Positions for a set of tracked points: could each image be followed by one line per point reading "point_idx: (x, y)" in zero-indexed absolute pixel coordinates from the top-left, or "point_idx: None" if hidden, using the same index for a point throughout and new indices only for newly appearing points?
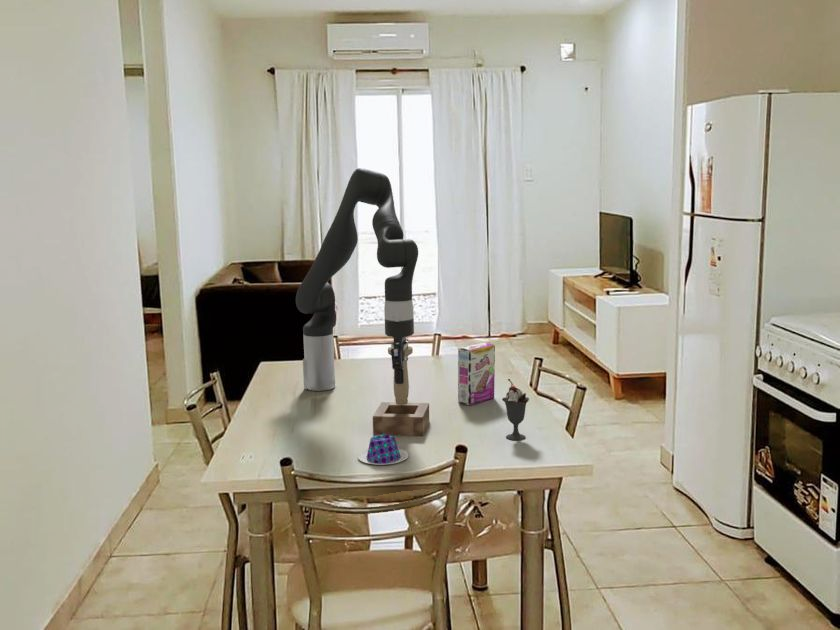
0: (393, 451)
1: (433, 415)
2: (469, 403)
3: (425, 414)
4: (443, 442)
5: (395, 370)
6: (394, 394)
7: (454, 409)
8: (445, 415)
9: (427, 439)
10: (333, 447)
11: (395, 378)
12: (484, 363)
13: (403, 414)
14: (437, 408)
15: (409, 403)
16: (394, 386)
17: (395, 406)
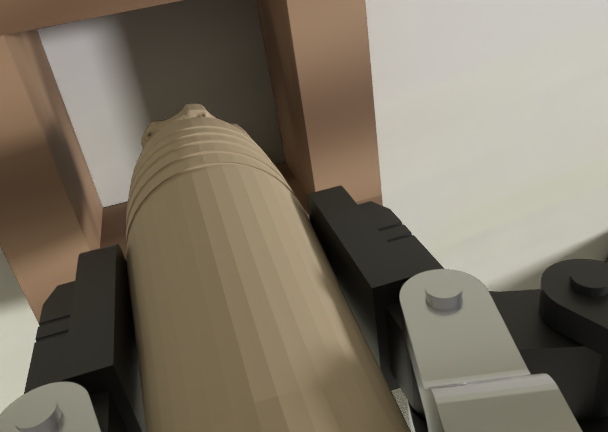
0: None
1: (442, 179)
2: None
3: None
4: (7, 395)
5: (66, 384)
6: (161, 134)
7: (544, 236)
8: (447, 234)
9: (16, 313)
10: None
11: (77, 293)
12: None
13: (55, 204)
14: (563, 152)
15: (354, 132)
16: (142, 185)
17: (289, 37)
